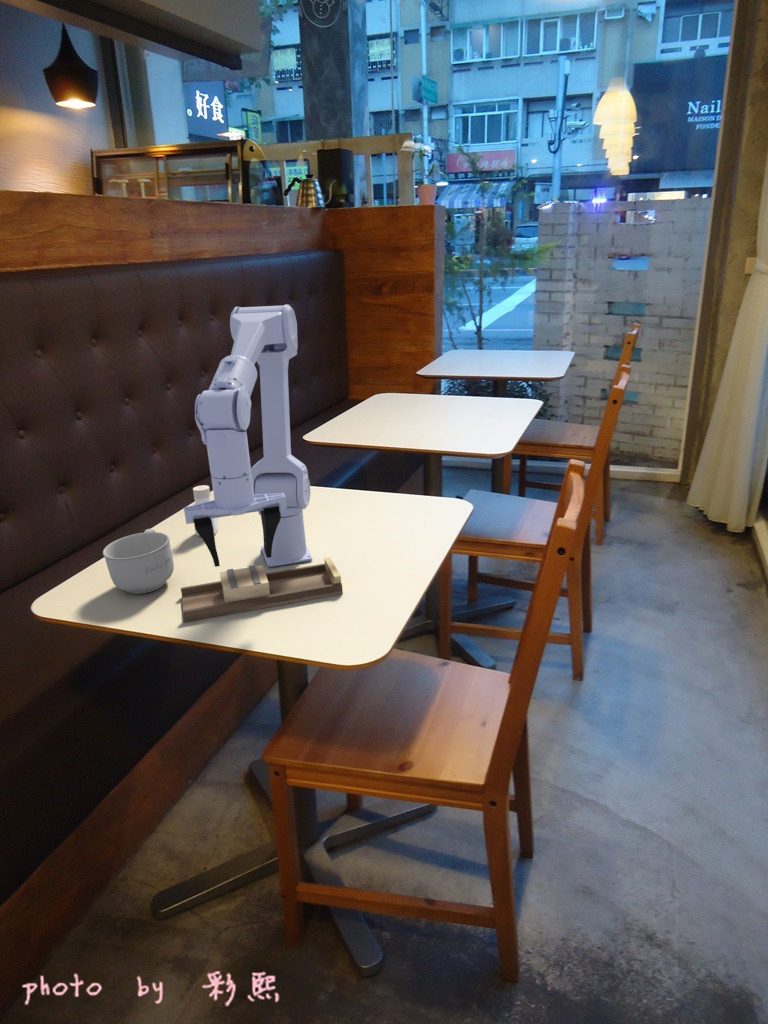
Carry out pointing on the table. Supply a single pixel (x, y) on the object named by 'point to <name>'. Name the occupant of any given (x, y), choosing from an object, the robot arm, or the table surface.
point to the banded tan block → (244, 583)
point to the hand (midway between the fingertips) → (242, 559)
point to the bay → (282, 591)
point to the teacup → (140, 561)
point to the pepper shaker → (201, 497)
